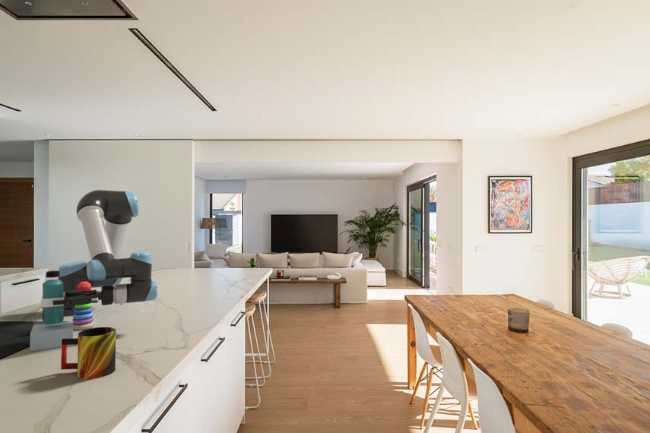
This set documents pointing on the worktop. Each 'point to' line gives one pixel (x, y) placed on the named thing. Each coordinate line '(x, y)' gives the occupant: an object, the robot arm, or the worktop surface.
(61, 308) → the beverage bottle
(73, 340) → the mug
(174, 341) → the worktop surface
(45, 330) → the block
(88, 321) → the stacking toy
